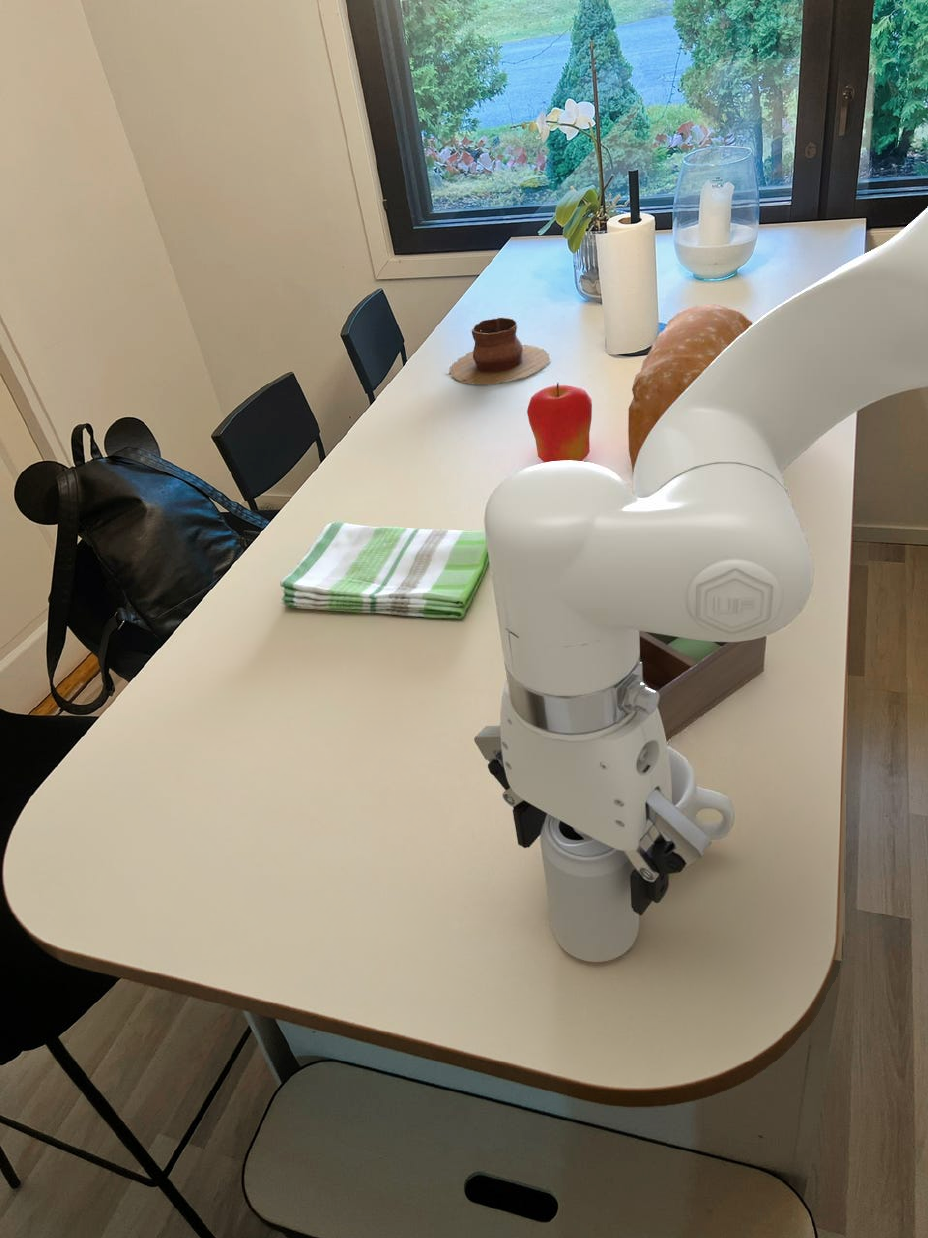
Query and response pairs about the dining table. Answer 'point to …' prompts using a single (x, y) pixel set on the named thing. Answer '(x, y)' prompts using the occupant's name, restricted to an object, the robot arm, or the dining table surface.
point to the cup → (695, 799)
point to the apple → (561, 423)
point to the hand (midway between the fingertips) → (589, 864)
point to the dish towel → (389, 571)
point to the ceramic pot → (498, 355)
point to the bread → (679, 364)
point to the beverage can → (587, 893)
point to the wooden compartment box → (695, 674)
